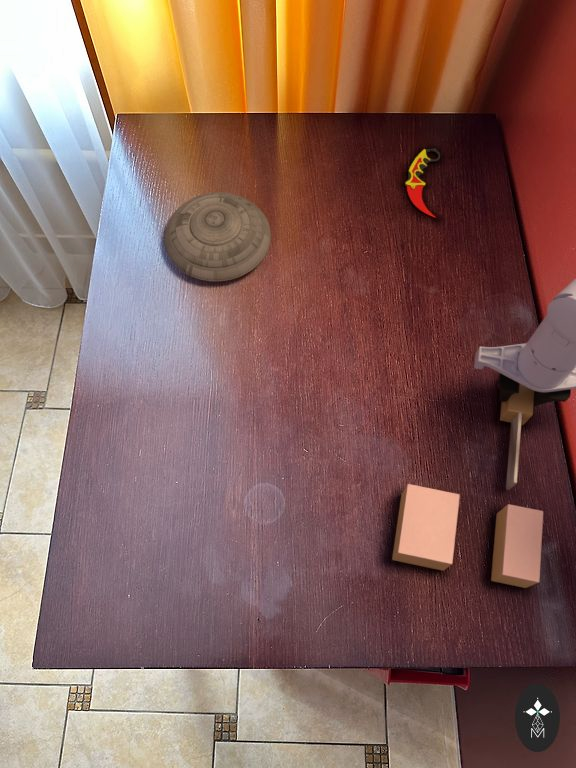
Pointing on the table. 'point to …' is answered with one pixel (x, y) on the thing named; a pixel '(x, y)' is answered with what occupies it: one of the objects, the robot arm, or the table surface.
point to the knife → (415, 183)
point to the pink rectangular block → (426, 527)
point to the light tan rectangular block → (517, 546)
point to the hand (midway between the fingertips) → (517, 397)
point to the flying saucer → (217, 236)
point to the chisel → (516, 426)
